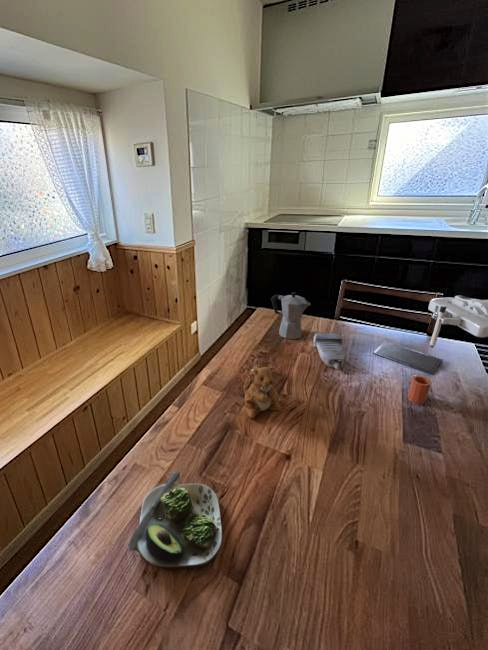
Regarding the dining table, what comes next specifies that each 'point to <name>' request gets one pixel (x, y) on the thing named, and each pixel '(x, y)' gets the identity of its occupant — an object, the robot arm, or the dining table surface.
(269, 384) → the stuffed squirrel
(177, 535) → the salad plate
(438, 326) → the stylus
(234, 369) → the dining table surface
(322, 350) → the handheld device
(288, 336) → the coffeepot
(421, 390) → the pen cup
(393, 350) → the tablet
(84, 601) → the dining table surface
